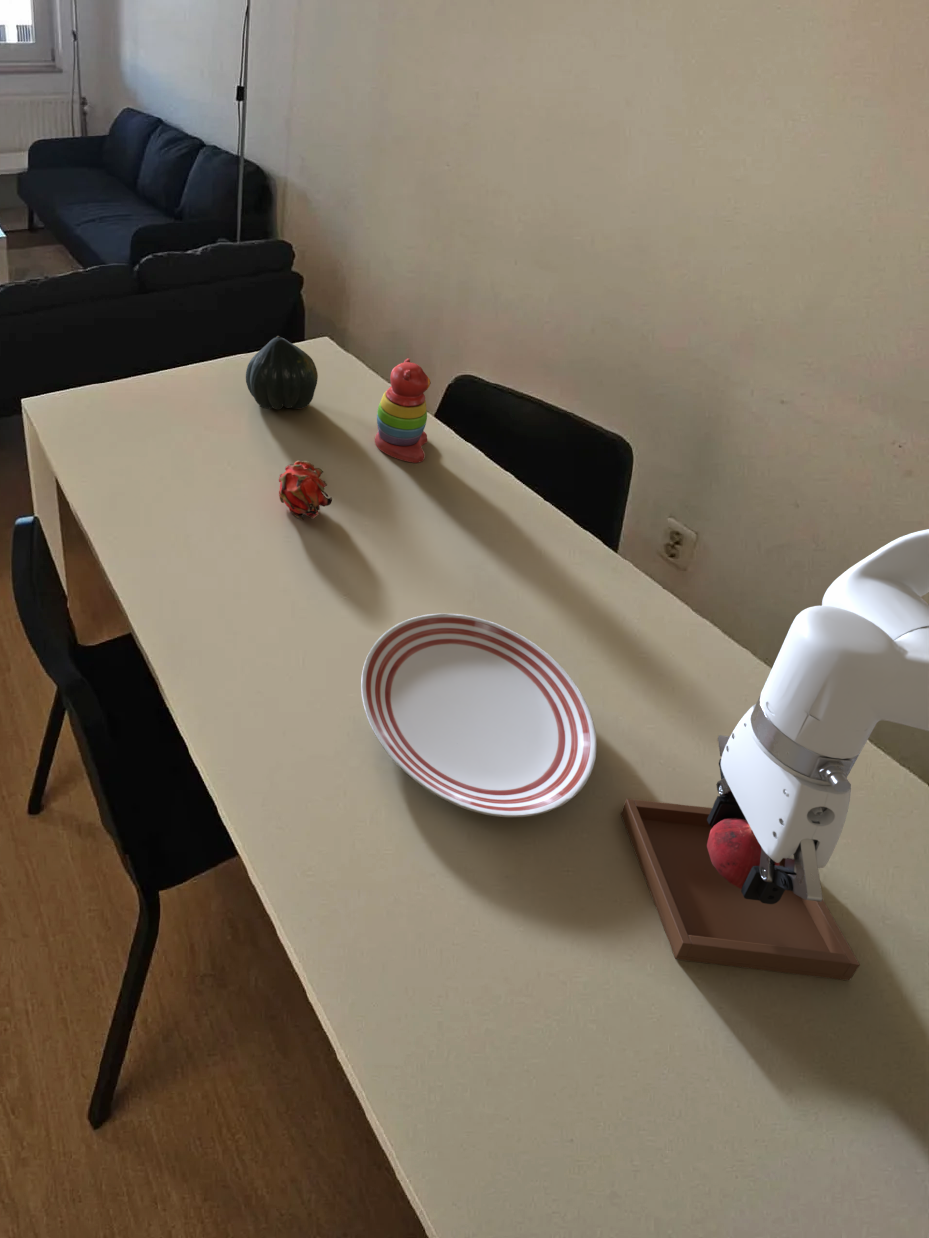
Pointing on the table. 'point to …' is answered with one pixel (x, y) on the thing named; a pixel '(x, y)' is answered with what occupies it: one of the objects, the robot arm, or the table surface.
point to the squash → (281, 376)
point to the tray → (727, 902)
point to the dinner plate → (478, 715)
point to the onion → (734, 850)
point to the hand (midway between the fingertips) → (741, 859)
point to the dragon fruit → (303, 489)
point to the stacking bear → (403, 414)
